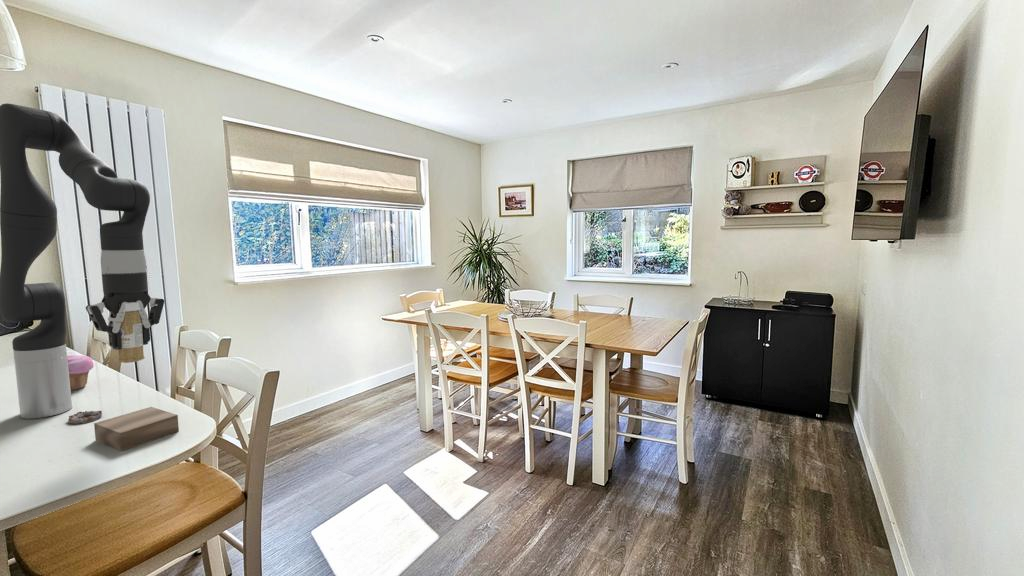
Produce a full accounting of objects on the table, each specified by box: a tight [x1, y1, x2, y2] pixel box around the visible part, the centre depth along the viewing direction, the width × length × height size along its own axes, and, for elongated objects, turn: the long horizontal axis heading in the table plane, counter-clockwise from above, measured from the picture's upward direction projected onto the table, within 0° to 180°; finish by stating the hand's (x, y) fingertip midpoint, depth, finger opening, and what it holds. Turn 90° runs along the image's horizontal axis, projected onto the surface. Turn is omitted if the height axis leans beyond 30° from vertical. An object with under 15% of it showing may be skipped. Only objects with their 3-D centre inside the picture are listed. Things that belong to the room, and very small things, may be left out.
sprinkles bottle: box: [118, 302, 145, 364], centre depth 99 cm, size 5×5×13 cm
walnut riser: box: [93, 406, 180, 452], centre depth 102 cm, size 11×11×4 cm
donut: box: [67, 410, 103, 425], centre depth 110 cm, size 8×8×2 cm
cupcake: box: [67, 354, 95, 391], centre depth 132 cm, size 9×9×10 cm
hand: (130, 346), depth 100 cm, fingers closed on sprinkles bottle, 4 cm apart
